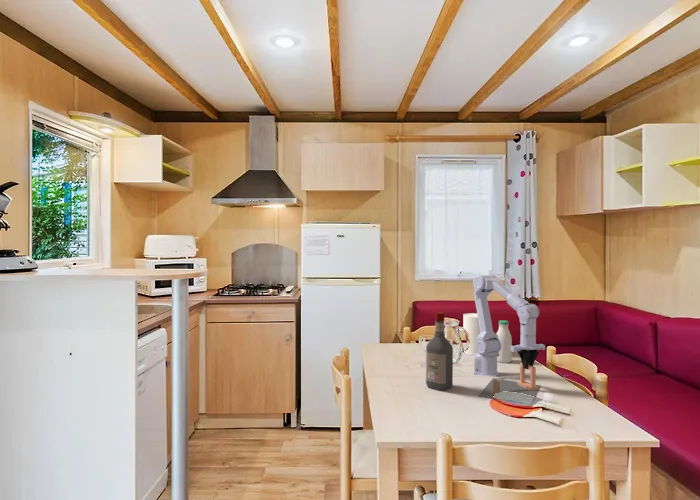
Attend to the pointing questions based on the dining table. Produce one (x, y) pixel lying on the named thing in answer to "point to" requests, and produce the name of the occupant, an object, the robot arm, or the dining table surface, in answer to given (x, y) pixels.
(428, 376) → the liquor
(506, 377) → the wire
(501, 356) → the milk bottle
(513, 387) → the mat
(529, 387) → the orange rectangular frame
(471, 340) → the canister
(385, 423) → the dining table surface
